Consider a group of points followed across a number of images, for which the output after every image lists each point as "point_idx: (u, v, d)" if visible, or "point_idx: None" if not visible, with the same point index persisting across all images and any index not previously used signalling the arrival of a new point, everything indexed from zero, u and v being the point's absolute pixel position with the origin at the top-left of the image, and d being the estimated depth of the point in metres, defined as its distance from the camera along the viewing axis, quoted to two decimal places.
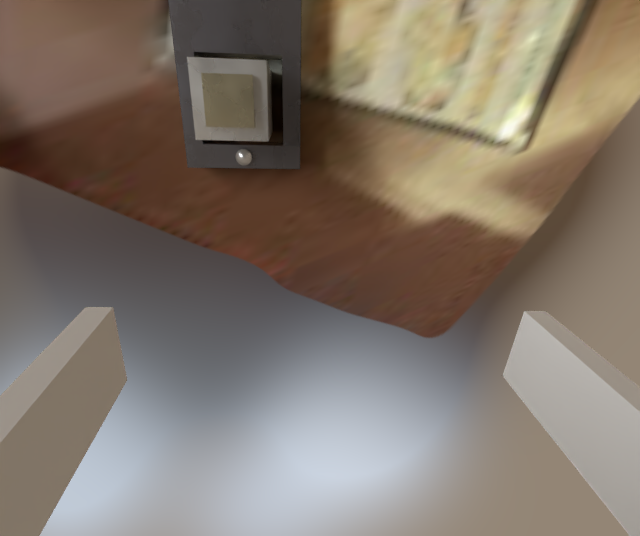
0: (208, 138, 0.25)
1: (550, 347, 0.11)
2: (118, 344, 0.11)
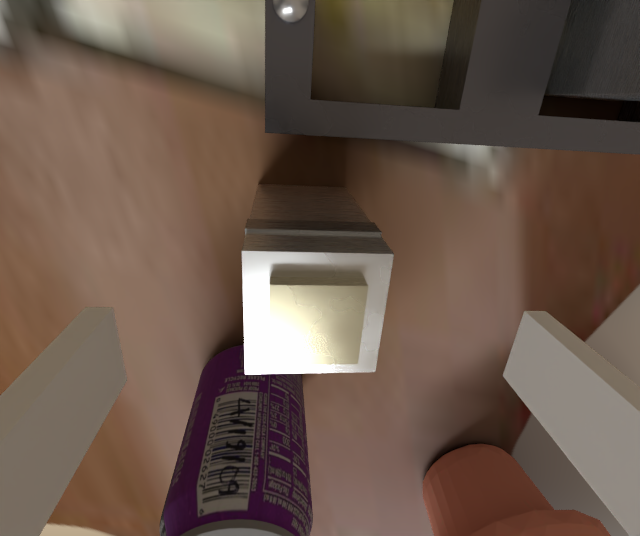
0: None
1: (550, 347, 0.11)
2: (118, 344, 0.11)
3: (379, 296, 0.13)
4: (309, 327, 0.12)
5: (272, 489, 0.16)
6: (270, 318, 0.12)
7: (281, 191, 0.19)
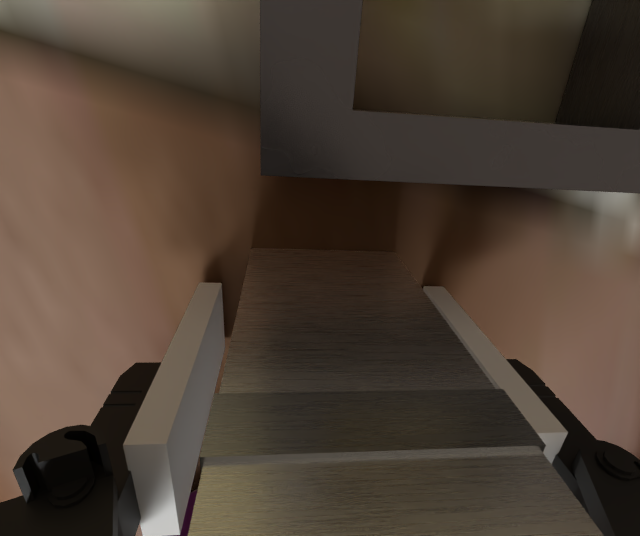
0: None
1: None
2: (221, 315, 0.13)
3: None
4: None
5: None
6: None
7: (290, 269, 0.11)
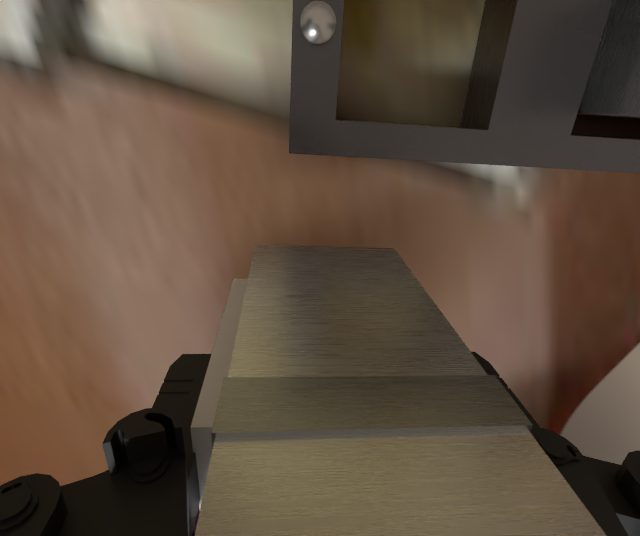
0: None
1: None
2: None
3: None
4: None
5: None
6: None
7: (293, 264, 0.11)
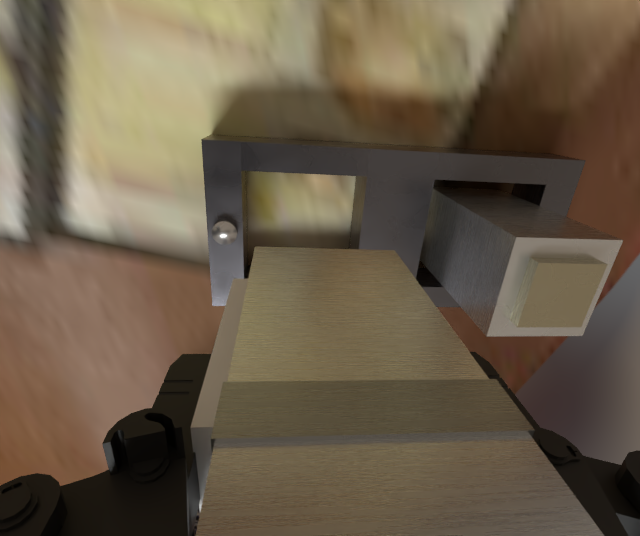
0: (586, 320, 0.18)
1: None
2: None
3: None
4: None
5: None
6: None
7: (293, 266, 0.11)
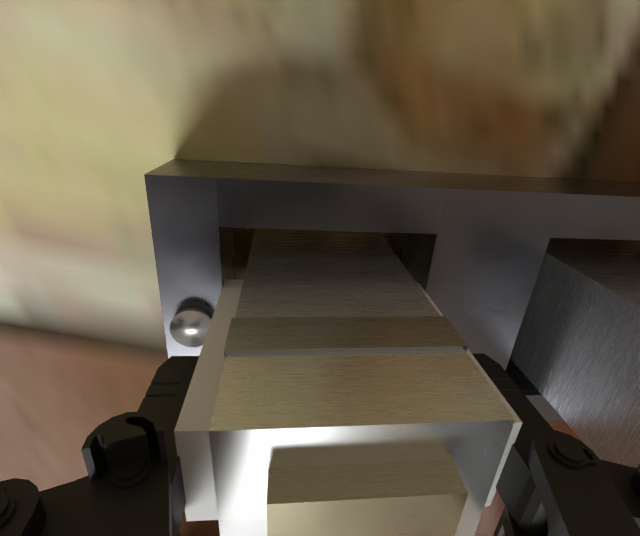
0: None
1: None
2: None
3: (477, 485, 0.07)
4: None
5: None
6: None
7: (288, 242, 0.13)
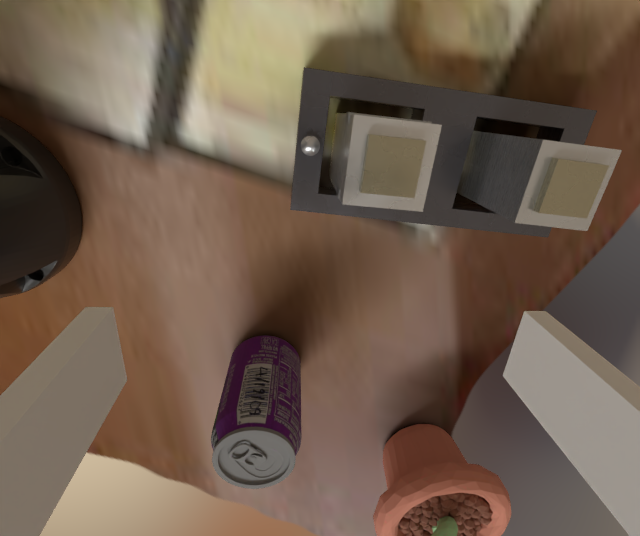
0: (591, 217, 0.23)
1: (550, 348, 0.11)
2: (118, 344, 0.11)
3: (430, 154, 0.21)
4: (388, 167, 0.21)
5: (279, 415, 0.28)
6: (366, 157, 0.20)
7: None
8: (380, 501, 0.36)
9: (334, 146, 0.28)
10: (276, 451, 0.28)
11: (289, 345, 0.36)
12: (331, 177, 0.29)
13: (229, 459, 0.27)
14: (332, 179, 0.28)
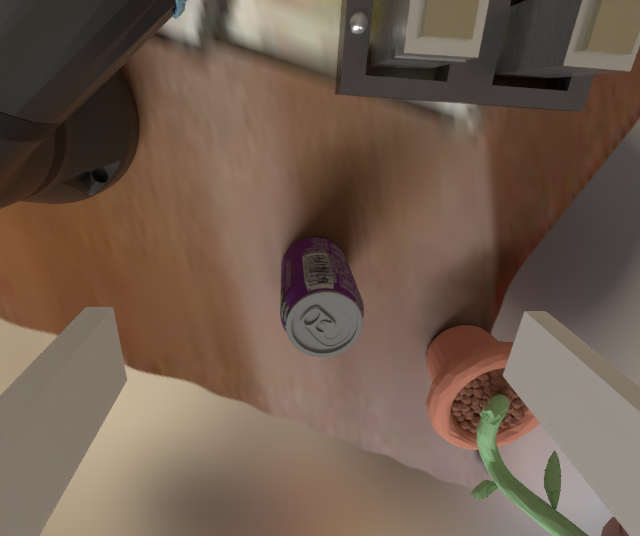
0: (634, 56, 0.25)
1: (550, 348, 0.11)
2: (118, 344, 0.11)
3: None
4: (448, 6, 0.22)
5: (344, 284, 0.30)
6: None
7: None
8: (433, 385, 0.38)
9: (378, 28, 0.30)
10: (344, 317, 0.29)
11: (337, 245, 0.38)
12: (376, 60, 0.30)
13: (301, 327, 0.29)
14: (379, 59, 0.30)
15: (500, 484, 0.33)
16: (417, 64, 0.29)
